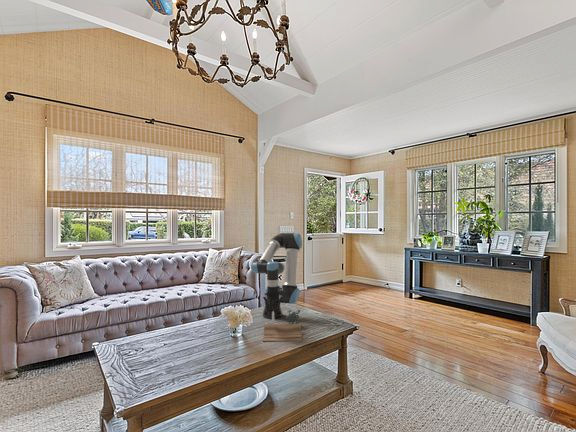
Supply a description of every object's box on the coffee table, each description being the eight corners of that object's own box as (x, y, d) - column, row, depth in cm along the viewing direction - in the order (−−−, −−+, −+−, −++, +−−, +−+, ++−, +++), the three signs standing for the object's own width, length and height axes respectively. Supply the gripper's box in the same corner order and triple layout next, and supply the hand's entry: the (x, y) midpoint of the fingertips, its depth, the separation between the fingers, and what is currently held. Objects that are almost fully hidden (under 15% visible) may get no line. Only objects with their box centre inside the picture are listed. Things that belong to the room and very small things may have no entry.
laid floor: (263, 337, 198) (263, 335, 198) (301, 336, 198) (301, 334, 198) (262, 342, 189) (262, 340, 189) (302, 342, 190) (302, 339, 190)
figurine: (302, 329, 211) (301, 311, 211) (286, 329, 211) (286, 311, 211) (301, 323, 222) (301, 306, 222) (286, 323, 222) (286, 307, 222)
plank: (264, 324, 206) (264, 323, 205) (300, 324, 206) (300, 323, 205) (263, 336, 199) (263, 335, 198) (301, 335, 199) (301, 334, 198)
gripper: (262, 287, 200) (262, 323, 200) (282, 286, 200) (283, 323, 200) (263, 284, 207) (263, 320, 207) (282, 284, 208) (283, 319, 207)
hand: (273, 321), depth 203 cm, fingers closed
